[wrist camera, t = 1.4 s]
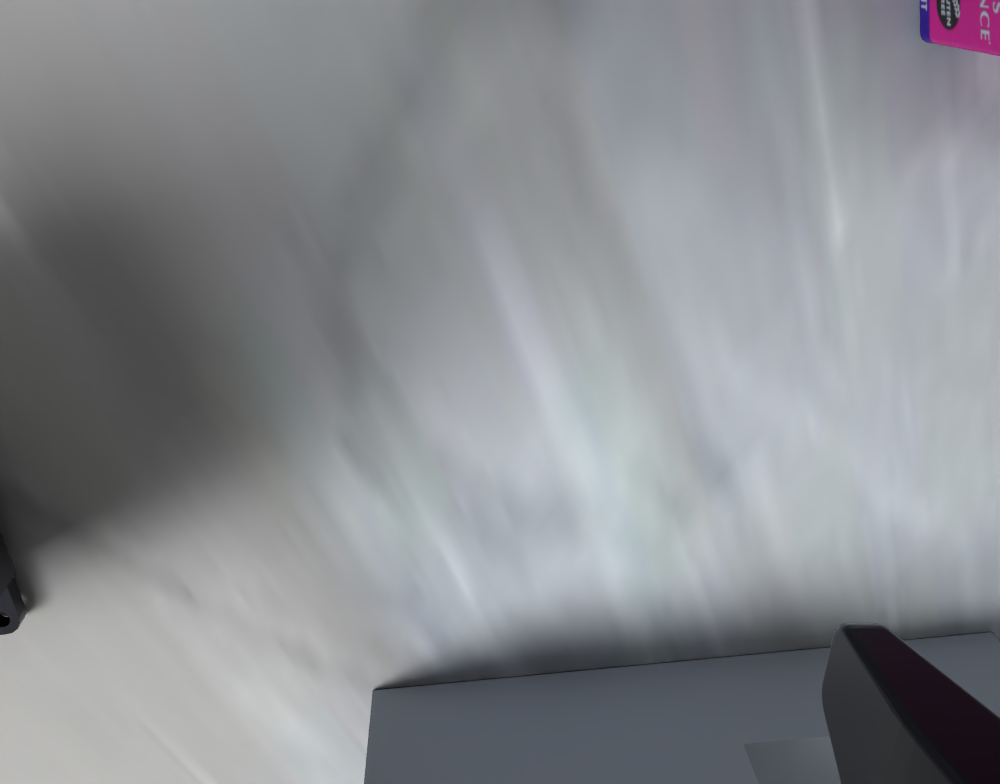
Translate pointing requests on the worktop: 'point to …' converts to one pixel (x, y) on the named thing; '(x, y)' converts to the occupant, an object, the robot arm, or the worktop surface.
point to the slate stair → (638, 721)
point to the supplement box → (962, 24)
